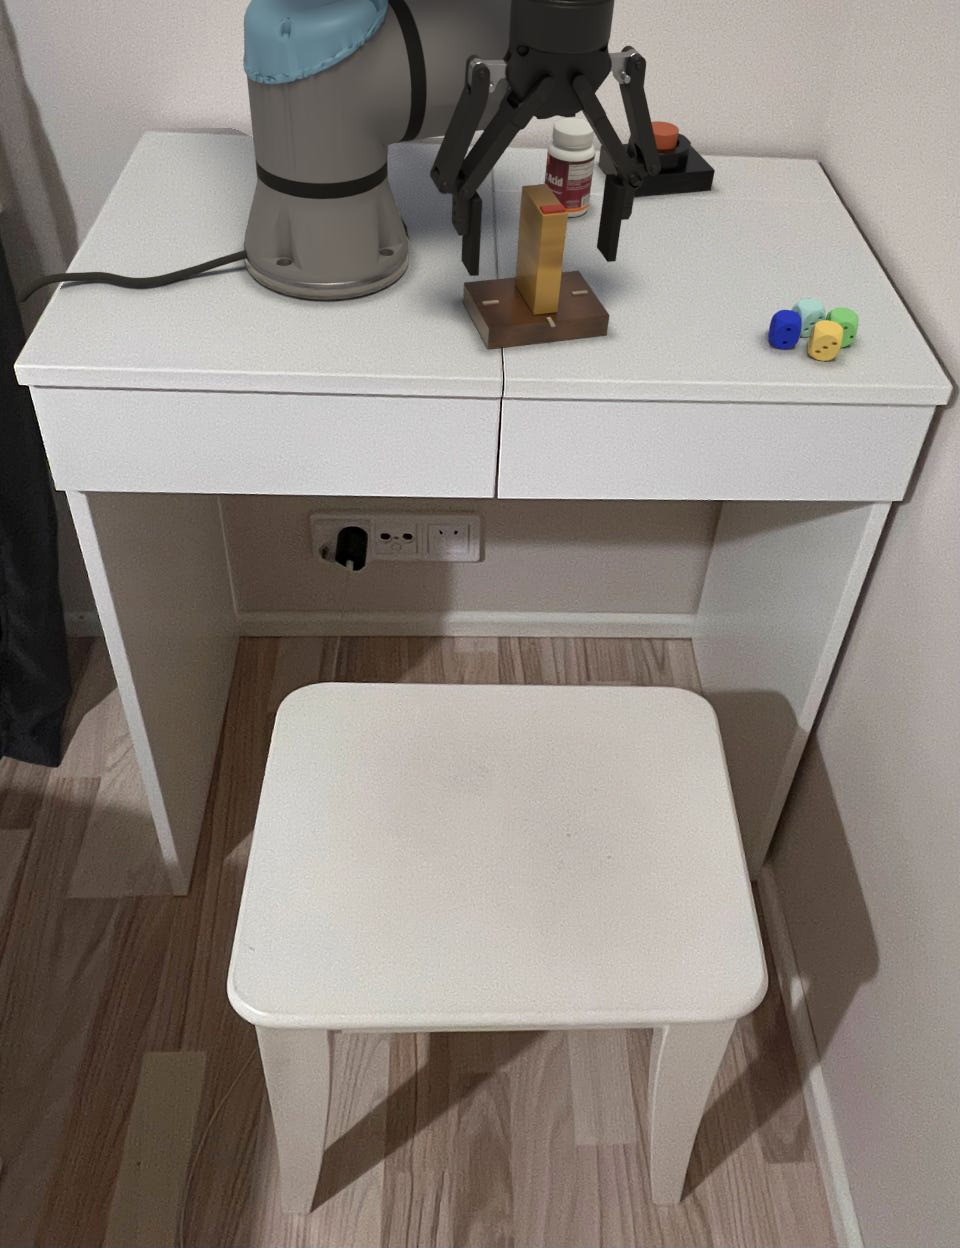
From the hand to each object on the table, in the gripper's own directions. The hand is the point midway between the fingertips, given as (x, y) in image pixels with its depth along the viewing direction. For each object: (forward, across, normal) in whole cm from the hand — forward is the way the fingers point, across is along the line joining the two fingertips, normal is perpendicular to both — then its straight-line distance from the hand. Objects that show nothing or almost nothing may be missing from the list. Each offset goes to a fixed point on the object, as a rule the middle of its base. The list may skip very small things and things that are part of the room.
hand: (539, 261), depth 96 cm
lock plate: (+6, 0, 0) cm, 6 cm away
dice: (+4, +23, -6) cm, 24 cm away
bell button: (+2, +22, +25) cm, 33 cm away
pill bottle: (+6, +10, +20) cm, 23 cm away
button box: (+6, +22, +25) cm, 34 cm away
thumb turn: (+3, 0, 0) cm, 3 cm away
